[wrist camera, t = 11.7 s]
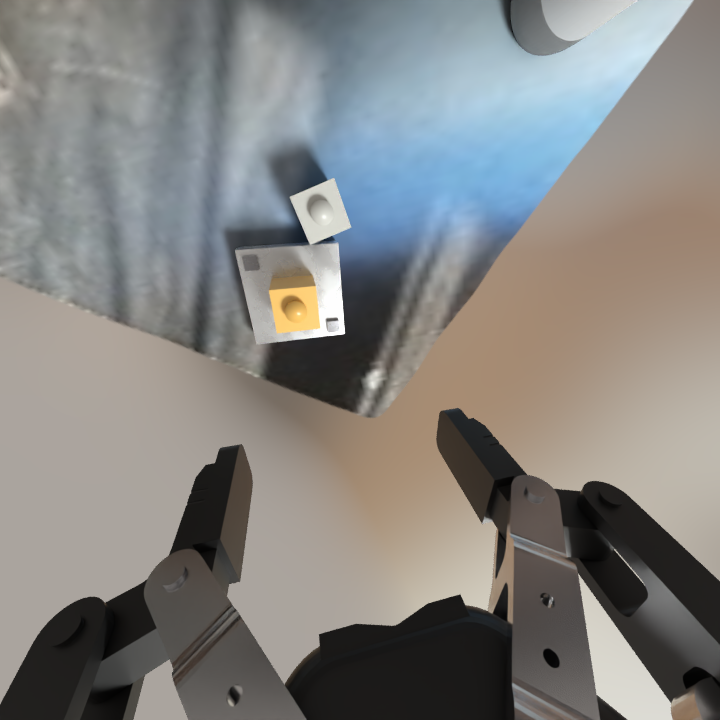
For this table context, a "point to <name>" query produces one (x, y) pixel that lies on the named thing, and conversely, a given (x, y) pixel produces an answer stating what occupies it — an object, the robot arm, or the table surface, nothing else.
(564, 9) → the smart speaker
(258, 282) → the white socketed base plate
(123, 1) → the table surface
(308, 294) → the yellow knobbed cube
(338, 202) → the grey cap
